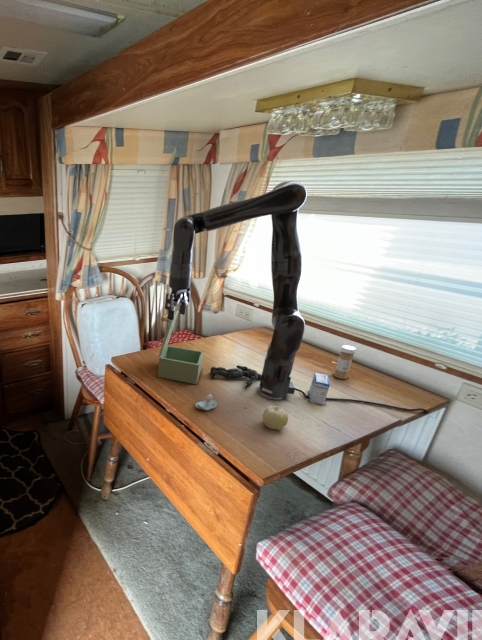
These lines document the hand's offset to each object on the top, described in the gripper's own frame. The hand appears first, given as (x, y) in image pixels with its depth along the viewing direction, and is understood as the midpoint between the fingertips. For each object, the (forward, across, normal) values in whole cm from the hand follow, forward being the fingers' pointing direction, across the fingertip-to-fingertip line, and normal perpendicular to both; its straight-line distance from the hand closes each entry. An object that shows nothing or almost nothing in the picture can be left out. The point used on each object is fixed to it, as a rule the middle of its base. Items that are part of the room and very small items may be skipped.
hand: (176, 316), depth 136 cm
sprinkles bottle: (+28, +50, -49) cm, 76 cm away
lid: (+10, +6, +6) cm, 13 cm away
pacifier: (+28, -9, -19) cm, 35 cm away
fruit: (+28, -4, -41) cm, 50 cm away
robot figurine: (+28, +20, -19) cm, 39 cm away
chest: (+28, +8, 0) cm, 29 cm away
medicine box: (+28, +25, -47) cm, 60 cm away
